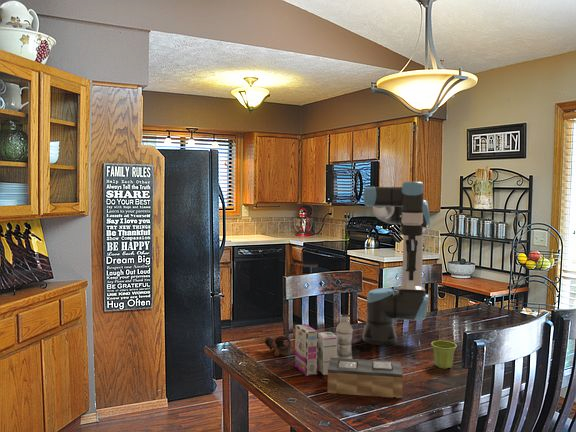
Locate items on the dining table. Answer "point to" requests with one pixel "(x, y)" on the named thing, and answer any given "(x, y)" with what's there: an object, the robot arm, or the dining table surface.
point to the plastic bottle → (344, 337)
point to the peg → (382, 366)
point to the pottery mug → (278, 344)
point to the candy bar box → (306, 349)
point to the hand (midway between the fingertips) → (410, 288)
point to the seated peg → (347, 364)
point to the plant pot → (443, 353)
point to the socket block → (365, 379)
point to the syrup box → (326, 350)
